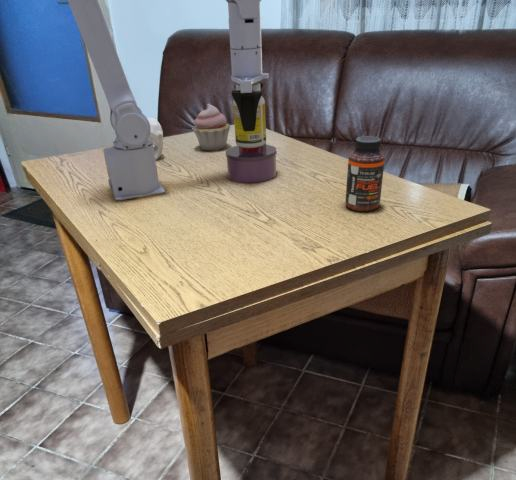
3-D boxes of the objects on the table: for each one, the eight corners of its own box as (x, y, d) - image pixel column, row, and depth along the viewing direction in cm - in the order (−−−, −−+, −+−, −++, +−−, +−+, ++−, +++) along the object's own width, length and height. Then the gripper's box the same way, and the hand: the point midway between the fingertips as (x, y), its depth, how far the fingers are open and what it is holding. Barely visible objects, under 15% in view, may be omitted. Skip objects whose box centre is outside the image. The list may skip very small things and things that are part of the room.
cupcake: (194, 144, 130) (190, 100, 124) (231, 141, 130) (228, 98, 124) (193, 154, 122) (188, 108, 116) (232, 151, 122) (229, 106, 116)
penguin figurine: (161, 118, 114) (108, 130, 112) (170, 157, 119) (119, 169, 117) (155, 113, 119) (104, 125, 117) (164, 150, 124) (115, 162, 122)
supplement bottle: (353, 214, 87) (358, 145, 80) (339, 202, 92) (343, 136, 85) (385, 209, 88) (393, 140, 81) (370, 198, 93) (376, 132, 86)
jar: (236, 186, 101) (234, 160, 99) (220, 172, 109) (218, 147, 107) (285, 178, 104) (284, 152, 101) (266, 165, 112) (265, 141, 109)
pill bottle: (249, 139, 107) (246, 80, 101) (272, 143, 104) (271, 82, 97) (229, 146, 103) (225, 85, 97) (252, 150, 100) (250, 87, 93)
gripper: (267, 51, 87) (269, 135, 95) (268, 42, 99) (270, 117, 107) (226, 53, 88) (232, 136, 96) (231, 44, 100) (236, 119, 107)
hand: (249, 126), depth 101 cm, fingers closed on pill bottle, 6 cm apart
